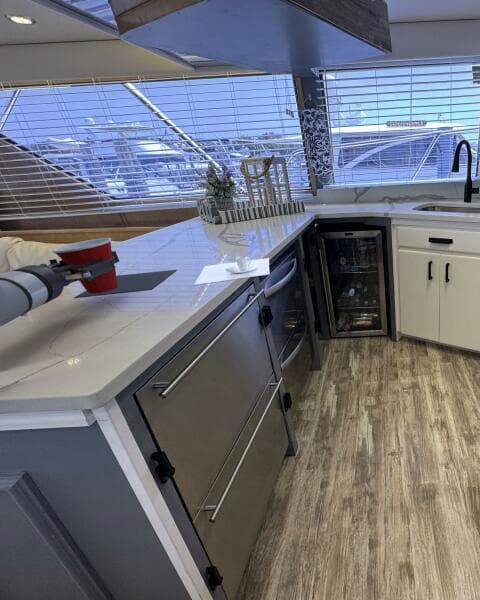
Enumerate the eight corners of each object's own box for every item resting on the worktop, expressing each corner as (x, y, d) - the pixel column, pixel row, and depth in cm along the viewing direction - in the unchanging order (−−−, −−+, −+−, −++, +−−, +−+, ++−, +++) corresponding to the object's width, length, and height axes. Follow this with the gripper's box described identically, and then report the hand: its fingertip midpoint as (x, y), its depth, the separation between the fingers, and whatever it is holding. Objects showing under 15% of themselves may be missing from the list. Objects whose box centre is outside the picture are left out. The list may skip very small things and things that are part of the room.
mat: (74, 297, 84) (73, 297, 84) (113, 276, 100) (112, 275, 100) (151, 289, 87) (151, 288, 87) (177, 270, 103) (177, 269, 103)
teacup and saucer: (225, 276, 95) (222, 263, 94) (228, 268, 102) (225, 256, 101) (257, 271, 98) (254, 258, 97) (257, 265, 105) (255, 252, 103)
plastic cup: (79, 288, 82) (57, 241, 77) (132, 279, 87) (114, 235, 82) (67, 302, 73) (41, 250, 68) (126, 291, 78) (106, 243, 74)
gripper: (-28, 313, 60) (59, 276, 81) (94, 300, 64) (147, 267, 85) (-52, 276, 57) (45, 247, 78) (77, 264, 61) (137, 239, 82)
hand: (98, 257), depth 81 cm, fingers closed on plastic cup, 7 cm apart
